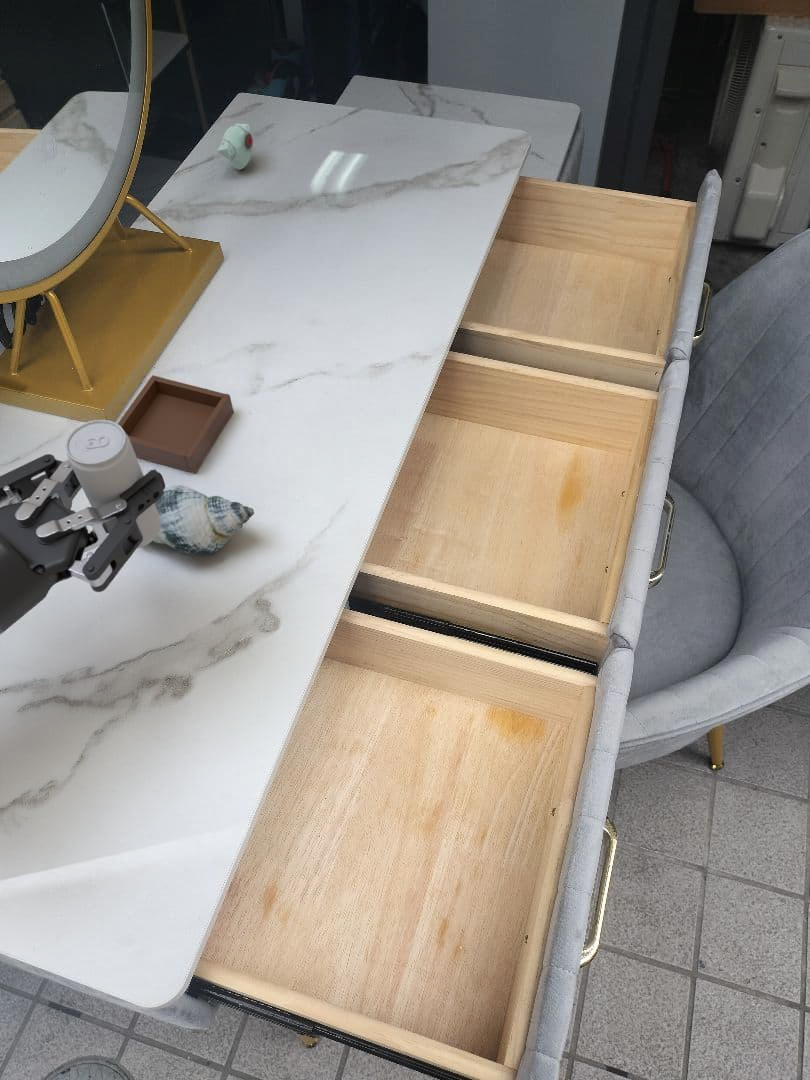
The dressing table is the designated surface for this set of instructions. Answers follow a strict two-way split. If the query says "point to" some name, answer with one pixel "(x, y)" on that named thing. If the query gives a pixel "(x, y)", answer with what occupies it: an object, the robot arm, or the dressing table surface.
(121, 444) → the beverage can
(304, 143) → the dressing table surface
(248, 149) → the robot head
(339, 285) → the dressing table surface
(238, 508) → the seashell
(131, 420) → the tray
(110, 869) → the dressing table surface
